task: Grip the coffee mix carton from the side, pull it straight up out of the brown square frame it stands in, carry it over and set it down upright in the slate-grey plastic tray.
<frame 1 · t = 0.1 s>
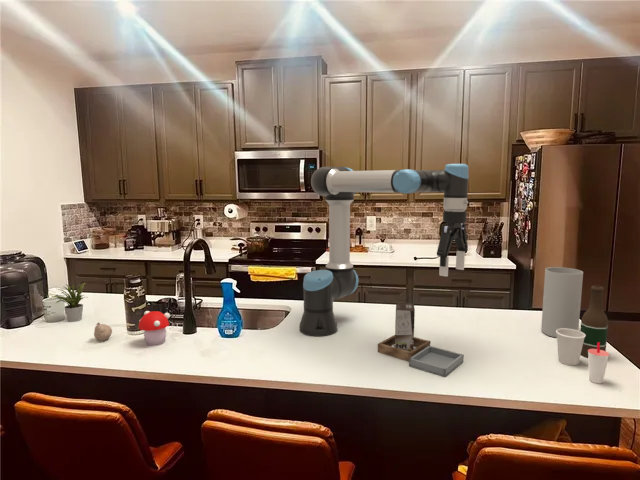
hand: (451, 272, 146), 28 cm above the worktop, tool pointing down, fingers open, 13 cm apart
house plant: (75, 319, 186), on the worktop
beer bottle: (591, 355, 145), on the worktop
dixie cup: (568, 362, 139), on the worktop
mushroom: (155, 343, 158), on the worktop
brown square frame: (404, 350, 149), on the worktop
cup: (595, 381, 126), on the worktop
coffee box: (404, 351, 149), resting in brown square frame
cylinder vase: (559, 334, 165), on the worktop
tray: (436, 363, 138), on the worktop
garlic bulb: (103, 340, 161), on the worktop
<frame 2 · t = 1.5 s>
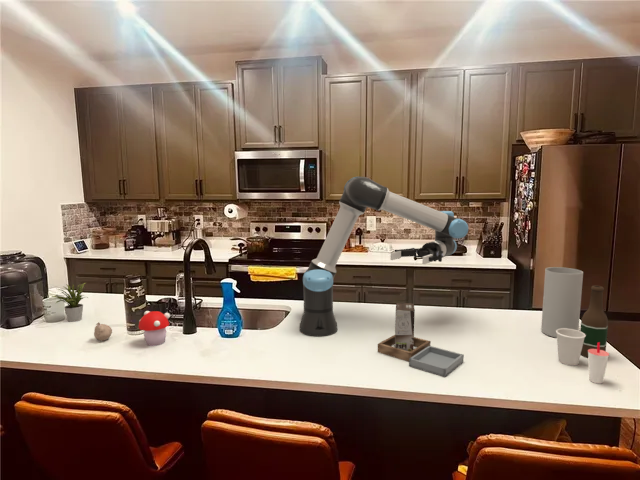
hand: (406, 258, 159), 30 cm above the worktop, tool horizontal, fingers open, 13 cm apart
nothing on the worktop moved.
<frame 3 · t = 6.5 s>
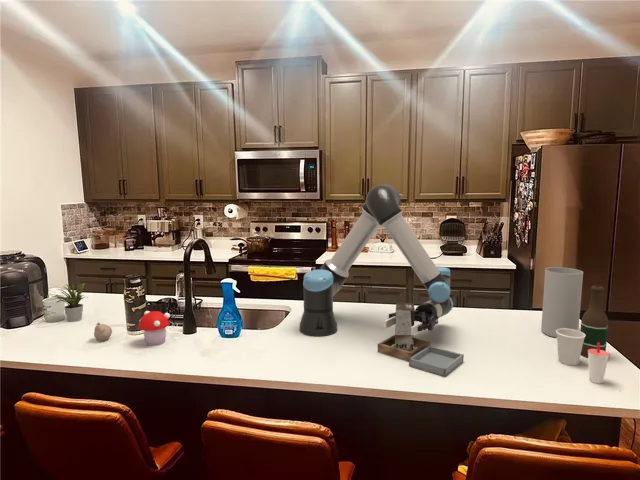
hand: (398, 327, 145), 10 cm above the worktop, tool horizontal, fingers closed on coffee box, 9 cm apart
coffee box: (404, 351, 149), resting in brown square frame, touching gripper
everything else where it was.
when the fingers open (11 cm above the worktop, at t = 11.6 s): coffee box drops 1 cm, resting on tray.
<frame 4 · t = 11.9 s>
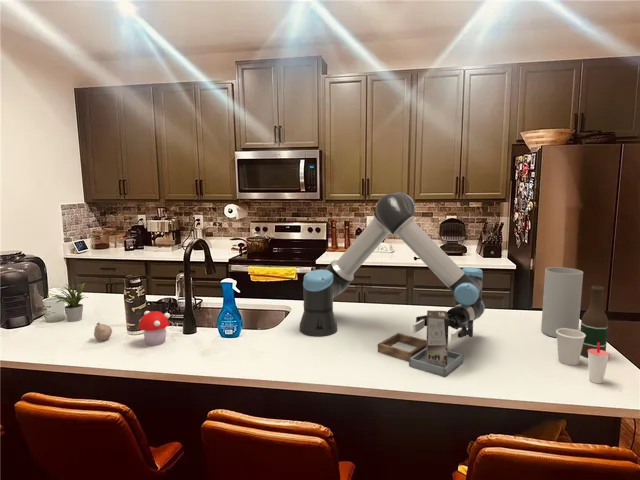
hand: (432, 333, 134), 11 cm above the worktop, tool horizontal, fingers open, 12 cm apart
coffee box: (436, 362, 138), resting on tray
everything else where it was.
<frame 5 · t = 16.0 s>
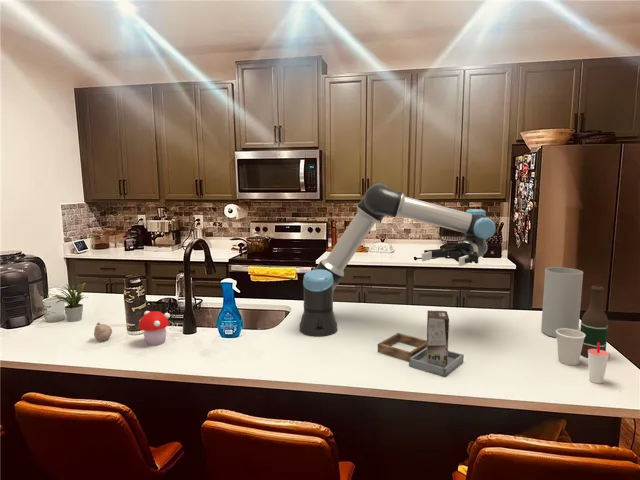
hand: (440, 259, 147), 32 cm above the worktop, tool horizontal, fingers open, 13 cm apart
nothing on the worktop moved.
at the end: coffee box inside the target area on the tray (0.1 cm from its centre), point 0.4 cm above the tray's base; coffee box tilted 0°; the gripper is holding nothing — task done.
